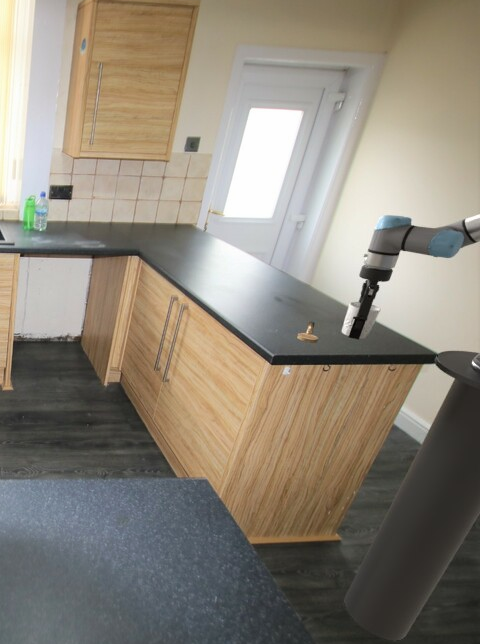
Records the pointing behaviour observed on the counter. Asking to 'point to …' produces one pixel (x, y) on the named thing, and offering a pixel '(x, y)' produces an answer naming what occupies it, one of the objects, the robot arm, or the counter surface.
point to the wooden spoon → (308, 334)
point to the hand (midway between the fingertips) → (353, 334)
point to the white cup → (353, 312)
